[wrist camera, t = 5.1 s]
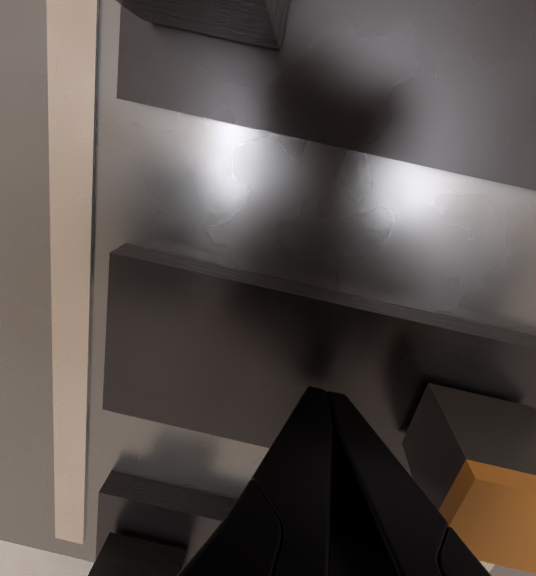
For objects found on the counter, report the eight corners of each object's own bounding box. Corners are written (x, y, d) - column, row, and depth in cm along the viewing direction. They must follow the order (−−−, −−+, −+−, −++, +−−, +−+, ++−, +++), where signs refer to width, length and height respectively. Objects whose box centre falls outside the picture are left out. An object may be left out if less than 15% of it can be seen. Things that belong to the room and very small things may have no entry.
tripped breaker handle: (499, 465, 9) (567, 581, 7) (401, 443, 9) (435, 550, 7) (533, 407, 9) (622, 512, 6) (428, 382, 9) (476, 478, 6)
